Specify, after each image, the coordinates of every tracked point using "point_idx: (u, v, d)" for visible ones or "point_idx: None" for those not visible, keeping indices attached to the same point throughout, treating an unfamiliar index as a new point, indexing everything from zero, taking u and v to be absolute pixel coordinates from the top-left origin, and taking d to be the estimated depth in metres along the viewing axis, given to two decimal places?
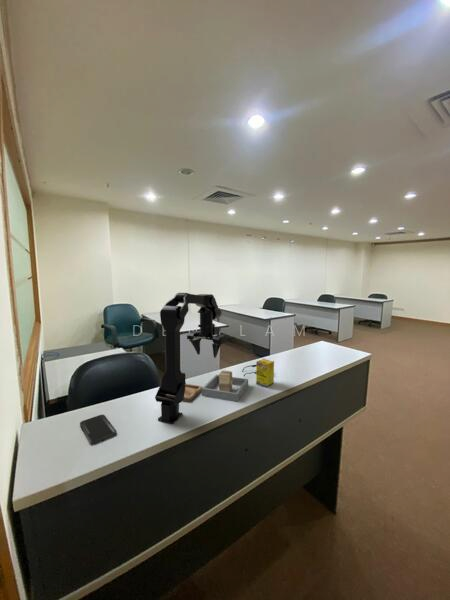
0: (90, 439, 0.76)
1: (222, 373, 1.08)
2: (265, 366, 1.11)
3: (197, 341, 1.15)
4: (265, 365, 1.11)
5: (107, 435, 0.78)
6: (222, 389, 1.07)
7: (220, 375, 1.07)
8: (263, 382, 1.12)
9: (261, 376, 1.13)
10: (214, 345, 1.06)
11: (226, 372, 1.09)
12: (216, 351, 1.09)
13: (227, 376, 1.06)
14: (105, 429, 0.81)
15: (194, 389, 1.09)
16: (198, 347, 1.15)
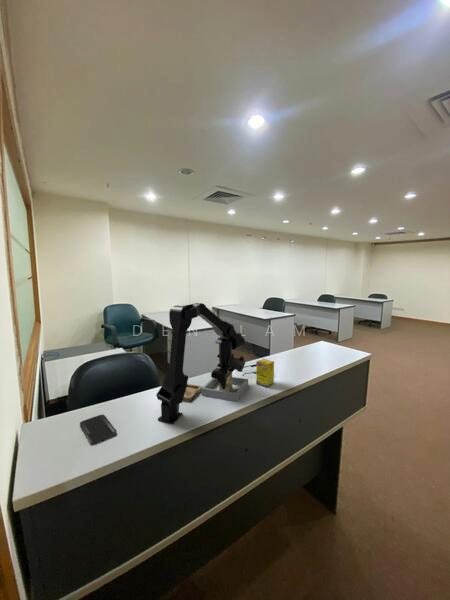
0: (90, 439, 0.76)
1: None
2: (265, 366, 1.11)
3: (227, 370, 1.11)
4: (265, 365, 1.11)
5: (107, 435, 0.78)
6: (222, 389, 1.07)
7: None
8: (263, 382, 1.12)
9: (261, 376, 1.13)
10: None
11: None
12: (221, 382, 1.06)
13: None
14: (105, 429, 0.81)
15: (194, 389, 1.09)
16: None
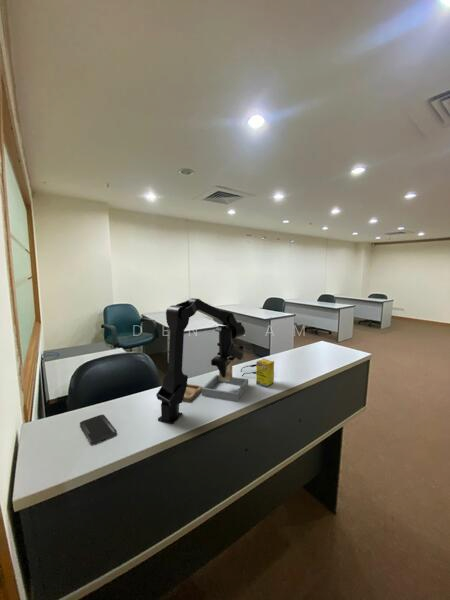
0: (90, 439, 0.76)
1: None
2: (265, 366, 1.11)
3: None
4: (265, 365, 1.11)
5: (107, 435, 0.78)
6: (222, 378, 1.07)
7: None
8: (263, 382, 1.12)
9: (261, 376, 1.13)
10: None
11: None
12: (221, 371, 1.06)
13: None
14: (105, 429, 0.81)
15: (194, 389, 1.09)
16: None
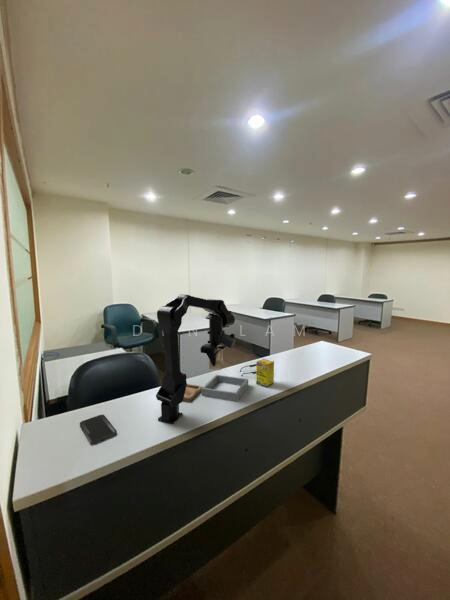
0: (90, 439, 0.76)
1: None
2: (265, 366, 1.11)
3: (218, 348, 1.10)
4: (265, 365, 1.11)
5: (107, 435, 0.78)
6: (212, 366, 1.06)
7: None
8: (263, 382, 1.12)
9: (261, 376, 1.13)
10: None
11: None
12: (211, 359, 1.04)
13: None
14: (105, 429, 0.81)
15: (194, 389, 1.09)
16: None
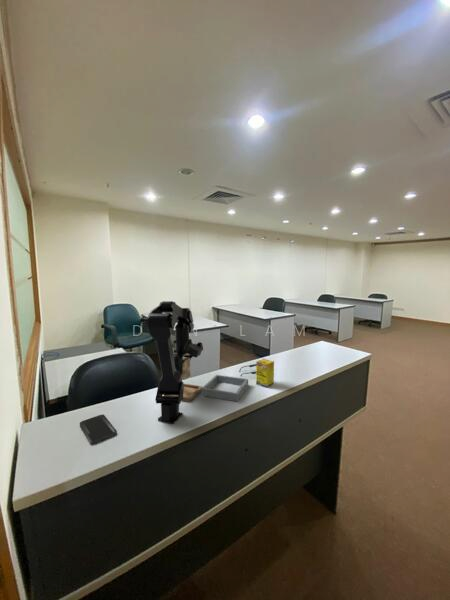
0: (90, 439, 0.76)
1: None
2: (265, 366, 1.11)
3: None
4: (265, 365, 1.11)
5: (107, 435, 0.78)
6: None
7: None
8: (263, 382, 1.12)
9: (261, 376, 1.13)
10: None
11: (183, 358, 1.05)
12: (177, 369, 1.02)
13: None
14: (105, 429, 0.81)
15: (194, 389, 1.09)
16: None
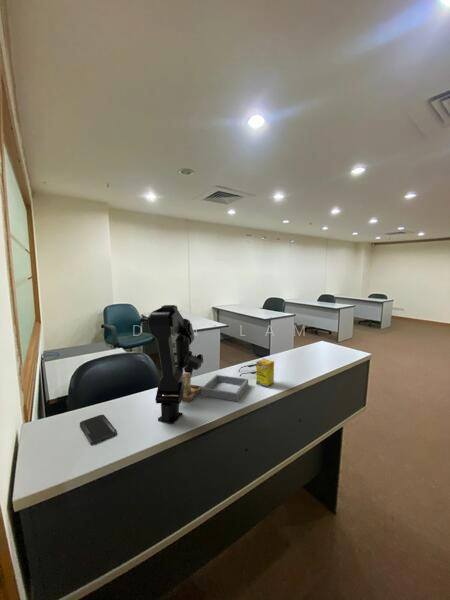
0: (90, 439, 0.76)
1: None
2: (265, 366, 1.11)
3: (188, 367, 1.11)
4: (265, 365, 1.11)
5: (107, 435, 0.78)
6: None
7: None
8: (263, 382, 1.12)
9: (261, 376, 1.13)
10: None
11: (184, 374, 1.06)
12: None
13: (184, 378, 1.03)
14: (105, 429, 0.81)
15: (194, 389, 1.09)
16: None
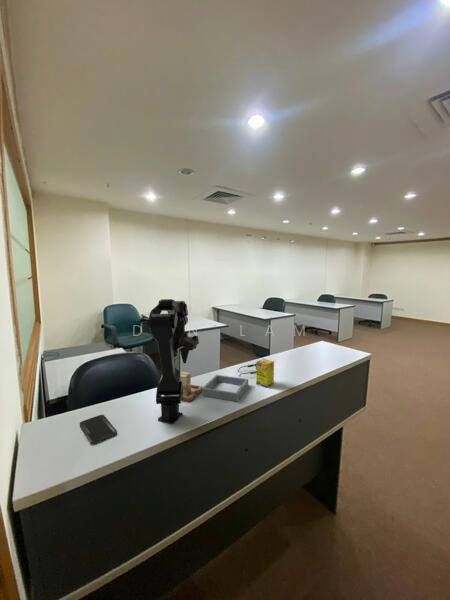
0: (90, 439, 0.76)
1: None
2: (265, 366, 1.11)
3: (184, 349, 1.10)
4: (265, 365, 1.11)
5: (107, 435, 0.78)
6: None
7: None
8: (263, 382, 1.12)
9: (261, 376, 1.13)
10: None
11: (184, 374, 1.06)
12: None
13: (184, 378, 1.03)
14: (105, 429, 0.81)
15: (194, 389, 1.09)
16: (184, 356, 1.09)
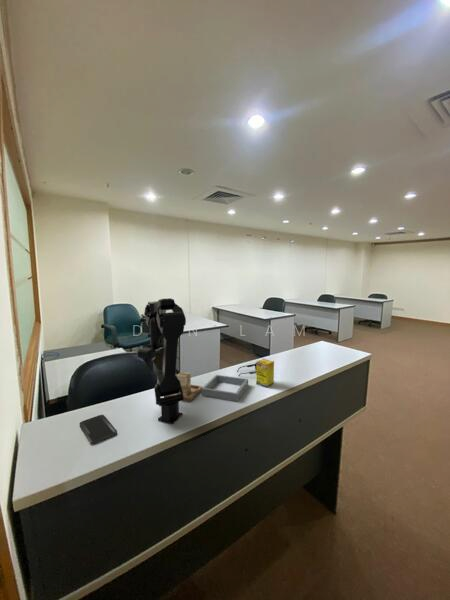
0: (90, 439, 0.76)
1: (179, 374, 1.05)
2: (265, 366, 1.11)
3: None
4: (265, 365, 1.11)
5: (107, 435, 0.78)
6: None
7: None
8: (263, 382, 1.12)
9: (261, 376, 1.13)
10: None
11: (184, 374, 1.06)
12: (148, 365, 0.99)
13: (184, 378, 1.03)
14: (105, 429, 0.81)
15: (194, 389, 1.09)
16: None
